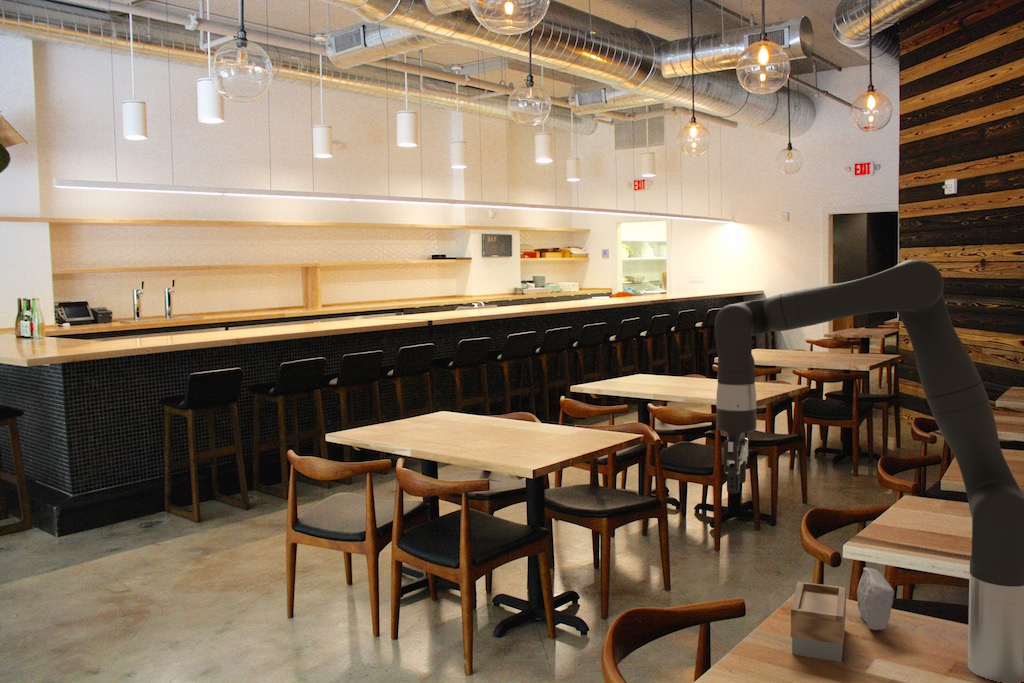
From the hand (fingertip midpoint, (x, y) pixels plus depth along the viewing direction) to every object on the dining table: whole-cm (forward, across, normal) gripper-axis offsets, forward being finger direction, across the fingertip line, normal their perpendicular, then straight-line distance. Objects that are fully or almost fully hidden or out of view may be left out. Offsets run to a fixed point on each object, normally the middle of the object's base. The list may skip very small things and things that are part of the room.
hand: (736, 487), depth 159 cm
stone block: (+30, +14, -25) cm, 41 cm away
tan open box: (+26, +1, -15) cm, 30 cm away
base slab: (+30, +1, -15) cm, 34 cm away
